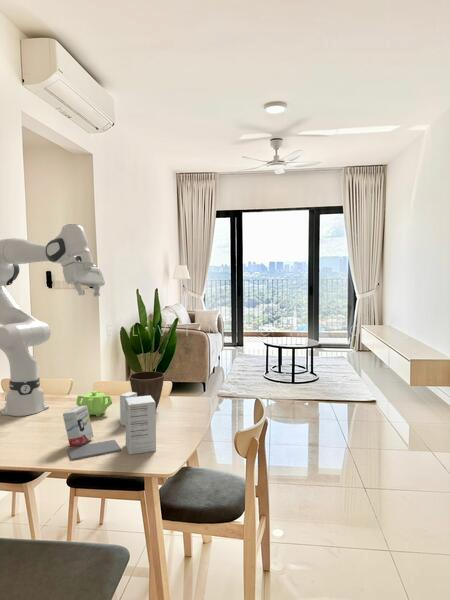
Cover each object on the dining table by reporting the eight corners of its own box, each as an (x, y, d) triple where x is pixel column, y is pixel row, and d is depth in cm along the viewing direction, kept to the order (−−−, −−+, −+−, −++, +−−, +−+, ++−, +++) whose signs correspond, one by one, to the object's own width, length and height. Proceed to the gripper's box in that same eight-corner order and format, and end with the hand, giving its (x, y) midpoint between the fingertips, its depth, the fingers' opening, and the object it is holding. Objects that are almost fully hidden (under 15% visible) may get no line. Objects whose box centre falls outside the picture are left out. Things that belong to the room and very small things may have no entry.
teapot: (113, 414, 180) (113, 391, 179) (88, 420, 171) (88, 397, 171) (99, 408, 188) (99, 386, 187) (75, 414, 180) (74, 391, 179)
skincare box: (129, 420, 172) (129, 391, 172) (137, 421, 170) (137, 392, 170) (119, 424, 167) (119, 395, 166) (128, 426, 165) (128, 396, 164)
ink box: (81, 445, 143) (74, 411, 143) (69, 447, 144) (61, 414, 144) (94, 436, 152) (87, 404, 152) (82, 438, 153) (75, 406, 153)
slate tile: (67, 449, 142) (67, 447, 142) (114, 441, 150) (114, 439, 150) (71, 460, 134) (71, 458, 134) (121, 450, 142) (121, 449, 142)
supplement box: (156, 451, 141) (156, 402, 140) (128, 455, 138) (128, 404, 137) (151, 440, 150) (151, 394, 149) (125, 444, 147) (124, 397, 146)
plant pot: (152, 418, 174) (152, 380, 173) (122, 414, 179) (122, 377, 178) (170, 408, 188) (170, 373, 187) (142, 404, 193) (141, 370, 192)
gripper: (91, 268, 177) (99, 299, 175) (57, 262, 158) (65, 296, 156) (103, 263, 175) (112, 294, 173) (70, 256, 156) (79, 291, 154)
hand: (89, 295), depth 164 cm, fingers open, 8 cm apart
